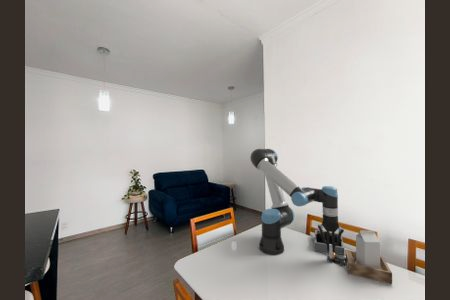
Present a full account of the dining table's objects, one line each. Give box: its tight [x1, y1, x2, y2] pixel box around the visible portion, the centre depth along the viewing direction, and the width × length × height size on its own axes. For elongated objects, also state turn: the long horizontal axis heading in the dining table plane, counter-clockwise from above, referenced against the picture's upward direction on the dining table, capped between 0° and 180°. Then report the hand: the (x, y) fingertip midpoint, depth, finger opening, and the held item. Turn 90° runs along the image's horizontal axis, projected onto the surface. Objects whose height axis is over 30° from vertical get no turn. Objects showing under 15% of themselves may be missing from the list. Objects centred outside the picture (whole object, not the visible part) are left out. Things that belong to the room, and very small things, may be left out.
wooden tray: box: [344, 248, 393, 285], centre depth 95 cm, size 16×15×5 cm
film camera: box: [314, 231, 343, 247], centre depth 120 cm, size 15×10×9 cm, turn 70°
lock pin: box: [332, 252, 355, 263], centre depth 102 cm, size 10×4×4 cm, turn 63°
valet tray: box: [314, 229, 345, 256], centre depth 120 cm, size 16×20×5 cm
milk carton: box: [355, 230, 381, 269], centre depth 95 cm, size 7×7×19 cm
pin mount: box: [327, 253, 346, 266], centre depth 103 cm, size 8×6×4 cm
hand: (330, 256), depth 104 cm, fingers closed
